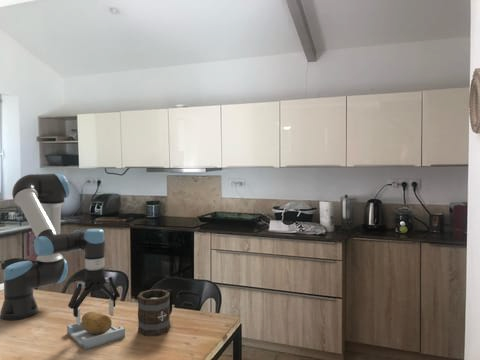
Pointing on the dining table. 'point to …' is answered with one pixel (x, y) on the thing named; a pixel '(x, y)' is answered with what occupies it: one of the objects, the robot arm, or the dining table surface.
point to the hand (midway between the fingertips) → (95, 319)
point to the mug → (154, 312)
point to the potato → (96, 323)
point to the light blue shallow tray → (90, 340)
